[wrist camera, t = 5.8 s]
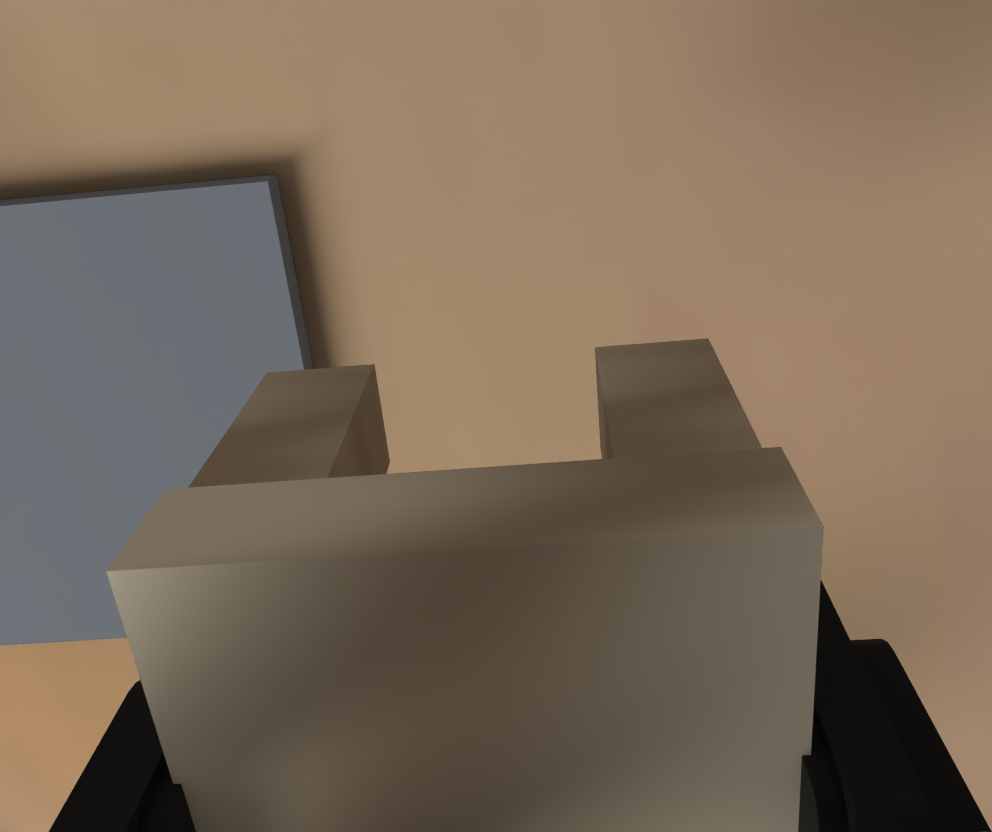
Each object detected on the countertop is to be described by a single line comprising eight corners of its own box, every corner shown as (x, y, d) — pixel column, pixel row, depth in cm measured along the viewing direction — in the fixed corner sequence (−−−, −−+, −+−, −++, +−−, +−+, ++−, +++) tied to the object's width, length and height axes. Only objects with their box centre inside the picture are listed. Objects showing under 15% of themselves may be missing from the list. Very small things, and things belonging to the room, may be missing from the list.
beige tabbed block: (717, 328, 10) (823, 526, 6) (716, 813, 13) (789, 1141, 9) (255, 364, 10) (106, 570, 7) (356, 828, 13) (289, 1149, 10)
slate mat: (276, 174, 25) (267, 181, 24) (358, 604, 31) (352, 623, 30) (-150, 214, 26) (-174, 222, 25) (6, 627, 32) (-9, 646, 31)
